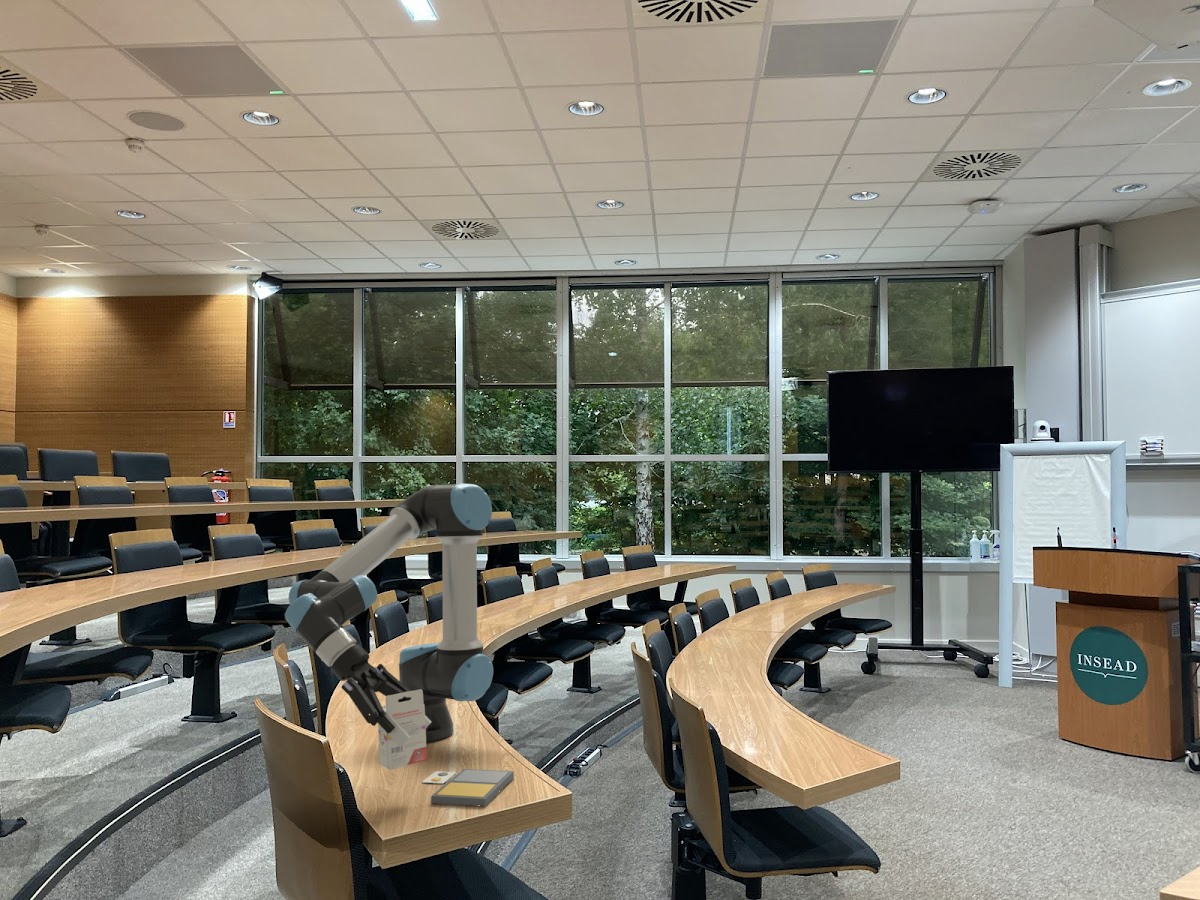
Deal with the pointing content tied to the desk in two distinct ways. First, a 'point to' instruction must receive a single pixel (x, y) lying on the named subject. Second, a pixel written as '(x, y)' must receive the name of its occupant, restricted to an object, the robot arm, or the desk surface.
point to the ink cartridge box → (412, 722)
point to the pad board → (472, 787)
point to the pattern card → (439, 777)
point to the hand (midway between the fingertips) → (416, 734)
